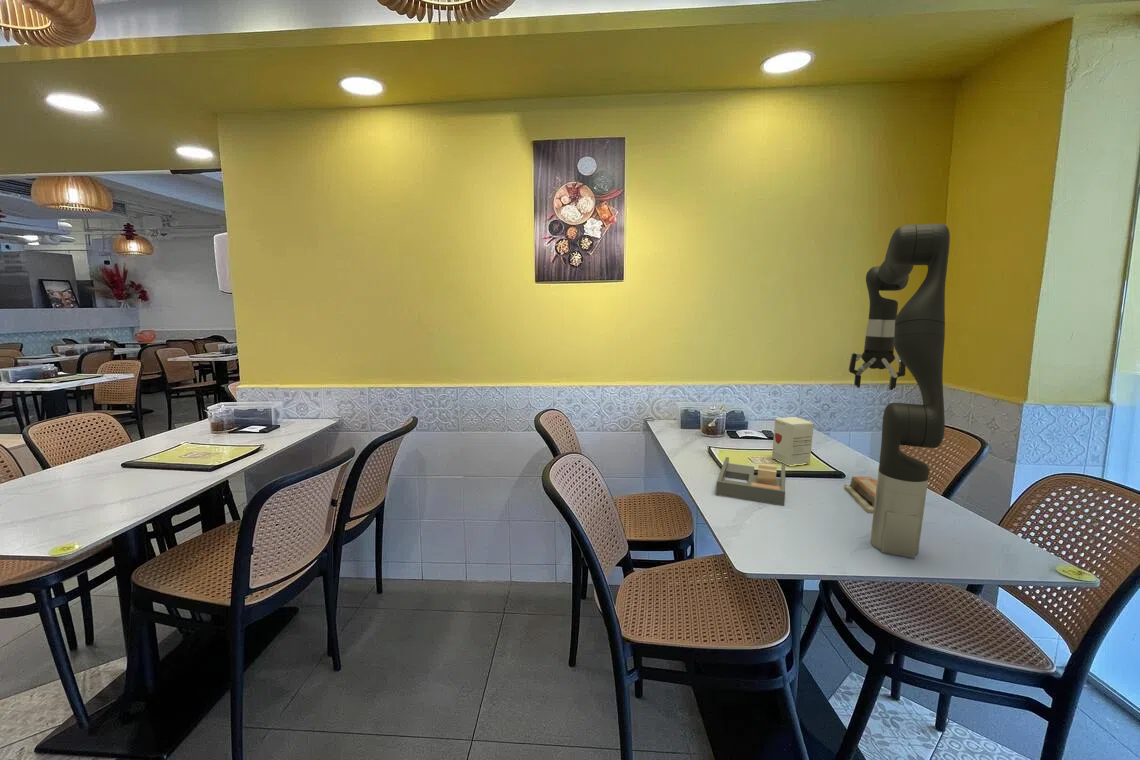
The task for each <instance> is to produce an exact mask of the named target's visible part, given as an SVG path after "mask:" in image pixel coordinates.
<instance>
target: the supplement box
mask: <svg viewBox="0 0 1140 760" xmlns="http://www.w3.org/2000/svg"><path fill="white" fill-rule="evenodd" d="M814 425H815V423H814V422H812V421H809V420H806V419H803V418H799V417H796V416H791V417H776V418H774V430H773V431H774V432H773V439H772V440H773V441H772V451H771V452H772V454H771V459H772V458H774V459H777V460H779V461H782V462H784V463H786V464H789V465H794V464H803V463H810V464H811V456H812V455H811V454H812V445H813V436H814Z"/></svg>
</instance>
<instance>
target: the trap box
mask: <svg viewBox="0 0 1140 760" xmlns="http://www.w3.org/2000/svg"><path fill="white" fill-rule="evenodd" d="M729 462H730V457H729V456H727V457H725V458H724V461H723V464H722V467H721V469H720V472H719V475H718V477H717V479H716V487H715V488H716V489H715V495H717V496H721V497H728V498H735V499H739V500H740V499H741V500H747V501H752V502H753V501H754V502H761V503H765V504H773V505H778V506H785V502H786V501H785V500H786V465H784V464H782V463H781V467H780V468H781V469H780V478H779V477H776V484H775V485H770V484H763V483H757V478H758V474H755V466H751V465H746V464H745V465H743V464H736V463H729ZM726 478H728V479H726ZM729 478H730V479H736V480H737V479H739V480H744V481H747V482H744V481H738V480H737V481H736V480H730V479H729Z"/></svg>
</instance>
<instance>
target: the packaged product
mask: <svg viewBox="0 0 1140 760" xmlns="http://www.w3.org/2000/svg"><path fill="white" fill-rule="evenodd" d="M843 487H844V490H845V491H846V492H847V493H848V494H849V495H850V497H852V499H853V500H854V501H855V503H856V504H857V505H859V507H861V508H862V509H863V511H865V512H866V513H867V514H873V512H874V503H875V495H876V487H877V479H875V478H873V477H870V476H868V477H867V476H852V477H851V480H850V485H848V484H844V486H843Z"/></svg>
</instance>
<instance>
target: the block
mask: <svg viewBox="0 0 1140 760" xmlns="http://www.w3.org/2000/svg"><path fill="white" fill-rule="evenodd" d="M777 467H778V466H777V465H774V464H773V465H772V464H766V463H758V468H757V475H758V478H757V483H763V484H770V485H775V484H776V478H777V470H778V469H777Z"/></svg>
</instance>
